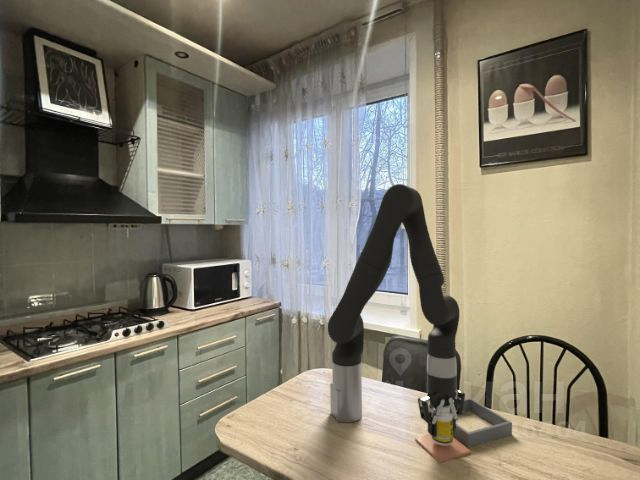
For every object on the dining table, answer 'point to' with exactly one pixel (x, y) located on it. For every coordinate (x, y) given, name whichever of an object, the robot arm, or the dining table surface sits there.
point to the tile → (442, 448)
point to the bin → (483, 435)
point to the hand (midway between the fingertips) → (441, 432)
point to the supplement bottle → (444, 427)
